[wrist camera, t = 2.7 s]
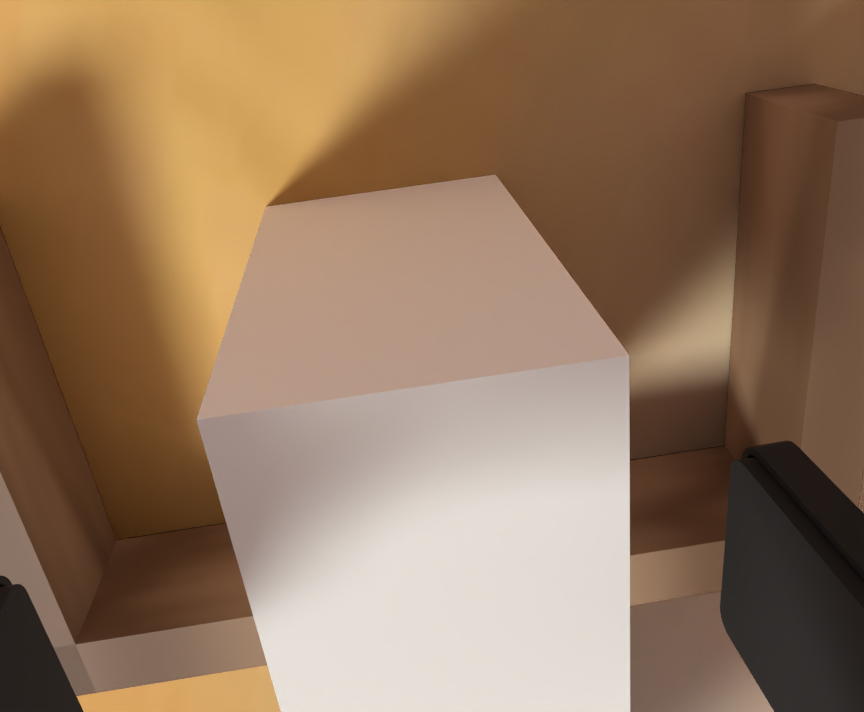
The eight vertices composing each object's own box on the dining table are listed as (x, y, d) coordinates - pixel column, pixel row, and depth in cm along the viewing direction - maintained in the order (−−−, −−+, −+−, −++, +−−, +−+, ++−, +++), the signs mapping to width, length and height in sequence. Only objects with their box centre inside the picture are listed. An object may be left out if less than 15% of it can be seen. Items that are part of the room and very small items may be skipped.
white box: (495, 174, 17) (629, 355, 9) (516, 444, 20) (630, 756, 12) (266, 206, 17) (196, 419, 9) (323, 474, 20) (309, 810, 12)
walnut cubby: (814, 83, 17) (920, 109, 14) (775, 483, 22) (847, 570, 19) (-86, 206, 16) (-189, 264, 13) (76, 593, 21) (29, 703, 18)
